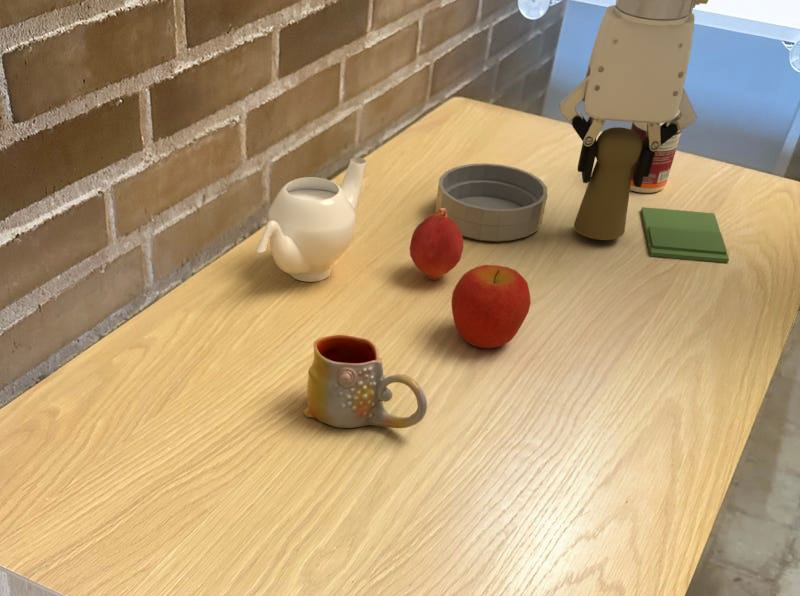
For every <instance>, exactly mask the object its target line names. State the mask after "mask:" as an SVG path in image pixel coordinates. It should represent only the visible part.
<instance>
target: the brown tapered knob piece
mask: <svg viewBox="0 0 800 596" xmlns="http://www.w3.org/2000/svg"><path fill="white" fill-rule="evenodd" d="M596 145H597V152H596V156H595V160H596V162H595V163H594V164H595V165H594V166H593V169H592V174H591V178H590V182H588V183H587V187H586V190H585V192H584V194H583V198H582V200H581V202H580V205H579V208H578V211H577V214H576V216H575V220H574V222H573V229H574V230H575V231H576V232H577V233H578V234H579V235H582V236H584V237H586V238H589V239H593V240H599V241H600V240H601V241H612V240H617V239H619V238H620V237H623V235H624V234H625V229H626V223H627V222H626V221H627V215H628V208H629V199H630V193H631V190H630V185H631V177H632V169H633V165H634V164H635V163H636V162H637V161H638V159H639V157H640V155H641V153H642V149H643V143H642V138H641V136H640V135H639V134H638V133H637V132H635V131H634V130H631V128H627V127H620V126H619V127H618V126H617V127H615V126H614V127H609V128H607V129H604V130H603V131H602V132H601V133H599V135H598V136H597V138H596Z"/></svg>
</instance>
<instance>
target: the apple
mask: <svg viewBox="0 0 800 596" xmlns="http://www.w3.org/2000/svg"><path fill="white" fill-rule="evenodd" d="M450 303H451V313H452V318H453V322H454V326H455V328H456V331H457V334H458V335H459V336H460V337H461V338H462V339H463V340H465V341H466V342H467V343H469V344H470V345H472V346H474V347H476V348H480V349H493V348H498V347H502V346H504V345H506V344H507V343H509V342H511V341H512V340H513V338H514V337H515V336H516V335H517V333H518V332H519V330H520V328H521V327H522V325H523V323H524V322H525V320H526V317H527V316H528V314H529V312H530V308H531V294H530V289H529V283H528V281H527V280H526V279H525V278H524V277H523V275H522V274H520V272H518V271H517V270H516V269H513V268H510V267H508V266H502V265H497V264H483V265H479V266H475V267H474V268H471V269H469V270H468V271H467V272H465V273H464V274H463V275H462V276H461V278H460V279H459V280H458V282H457V283H456V285H455V287H454V289H453V291H452V296H451V302H450Z"/></svg>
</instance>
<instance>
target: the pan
mask: <svg viewBox="0 0 800 596" xmlns="http://www.w3.org/2000/svg"><path fill="white" fill-rule="evenodd" d="M547 198H548V187H547V186H546V184H545V182H543V180H542V179H541V178H539V177H537V176H536V175H535V174H532V172H528V171H526V170H523V169H522V168H518V167H514V166H511V165H505V164H498V163H485V162H484V163H483V162H481V163H467V164H463V165H459V166H455V167H452V168H451V169H448V170H446V171H444V173H443V174H441V176H439V178H438V185H437V193H436V203H435V212H437V211H439V209H440V208H445V209H446V213H447V216H448V217H449V218H450V219H452V220H453V221H454V222H455V223H456V224H457V226H458V228H459V230H460V232H461V234H462V237H463V238H464V237H465V238H467V239H472V240H476V241H480V242H481V241H482V242H491V243H493V242H495V243H496V242H497V243H498V242H511V241H515V240H520V239H522V238H527V237H528V236H530V235H533V234H534V233H536V232H537V231H538V230H539V228H540V227H541V225H542V224H543V218H544V213H545V209H546V204H547V201H548V199H547ZM435 212H434V213H435Z"/></svg>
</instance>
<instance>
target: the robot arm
mask: <svg viewBox="0 0 800 596" xmlns="http://www.w3.org/2000/svg"><path fill="white" fill-rule="evenodd" d="M708 2H709V0H616V1H615V4H613V5H612V4H611V5H609V6H607V7H606V9H605V11H604V14H603V17H602V19H601V21H600V25H599V28H598V29H597V30H598V31H597V34H596V37H595V41H594V44H593V47H592V51H591V54H590V57H589V62H588V65H587V68H586V69H587V70H586V74H585V78H583V80H581V82H579V84H577V85H576V86H575V87H574V88H573V89H572V90H571V91H570V92H569V93H568V94H567V95H566V96H565V97H564V98H563V99H561V101H560V102H559V105H558V106H559V112H560V113H561V114H562V116H563V118H565V119H566V121H567V122H568V123H569V124H570V125H571V126H572V128H573V130H574V131H575V132H576V134H577V135H578V137H579V138H580V140H581V141H582V144H581V148H580V153H579V157H578V158H579V159H578V163H577V172H578V173H581V178H582V183H583V184H588V183H589V182H590V178H591V175H592V172H593V170H594V166H595V165H594V164H595V160H596V157H595V156H596V152H597V145H596V141H597V138H598V137H599V135H600V132H601V130H602V128H603V126H604V124H606V121H613V122H614V121H615V122H629V123H632V122H641V123H646V128H647V137H646V138H645V139H644V140H643V141H642V143H643V149H642V153H641V155H640V157H639V159H638V161H637V162H636V163H635V166H634V170H633V174H632V177H633V182H634V185H635V186H636V187H641V185H642V181H643V177H648V176H649V173H650V169H651V165H652V162H653V158H654V154H655V151H657V150H658V149H659V148H660V146H661V145H662V144H663V143H665V142H666V141H667V140H669V139H670V138H671V137H673V136H674V135H675V134H676V133H677V132H678V131H680V130H682V131H683V129H685V128H687V127H688V126H689V125H691V124H693V123H695V121H696V120H697V113H696V110H695V108H694V106H693V104H692V102H691V100H690V98H689V96H688V94H687V91H686V89H685V84H686V78H687V73H688V68H689V62H690V57H691V52H692V45H693V38H694V31H695V14H694V13H693V9H695V7H696V6H699V5H700V4H701V5H702V4H703V5H707V4H708ZM581 102H583V103H584V106H583V110H584V113H585V115H587V116H588V118H587V120H586V118H585V117H584V116H583V114H582V113H581V112H580V111H578V108H577V107H578V105H580V104H581ZM678 108H679V109H680V111H679V114H678V115H677V116H675V115H676V113H677V111H678ZM674 117H675V118H674ZM660 123H664V124H663V125H661V126H660Z"/></svg>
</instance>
